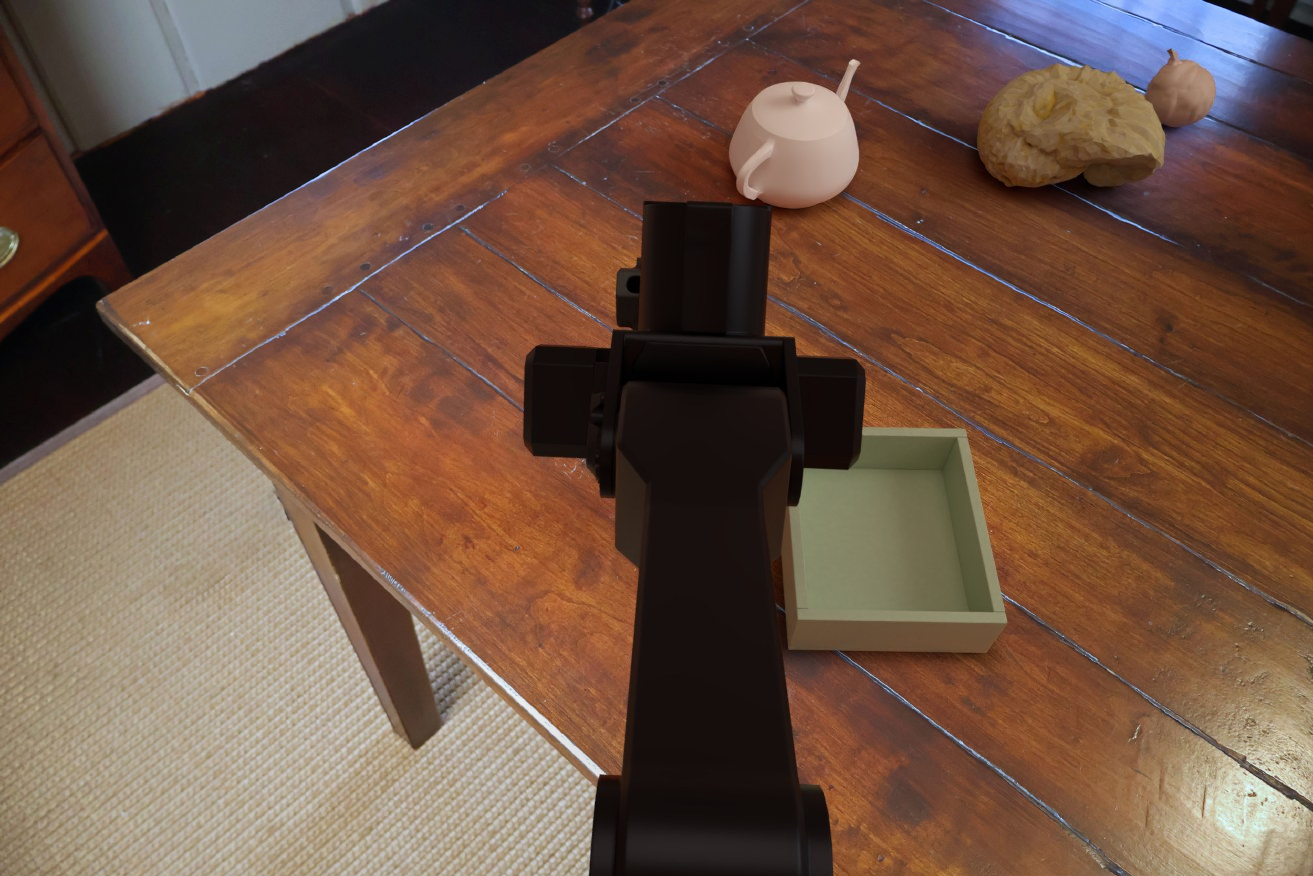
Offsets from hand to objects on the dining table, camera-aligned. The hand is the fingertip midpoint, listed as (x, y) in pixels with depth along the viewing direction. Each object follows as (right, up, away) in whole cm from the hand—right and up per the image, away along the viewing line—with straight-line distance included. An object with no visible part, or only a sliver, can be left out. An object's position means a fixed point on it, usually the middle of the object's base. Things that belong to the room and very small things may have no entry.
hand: (690, 391), depth 62 cm
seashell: (+37, +23, +34) cm, 55 cm away
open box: (+14, -11, +8) cm, 20 cm away
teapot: (+11, +23, +33) cm, 42 cm away
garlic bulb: (+51, +30, +39) cm, 71 cm away
